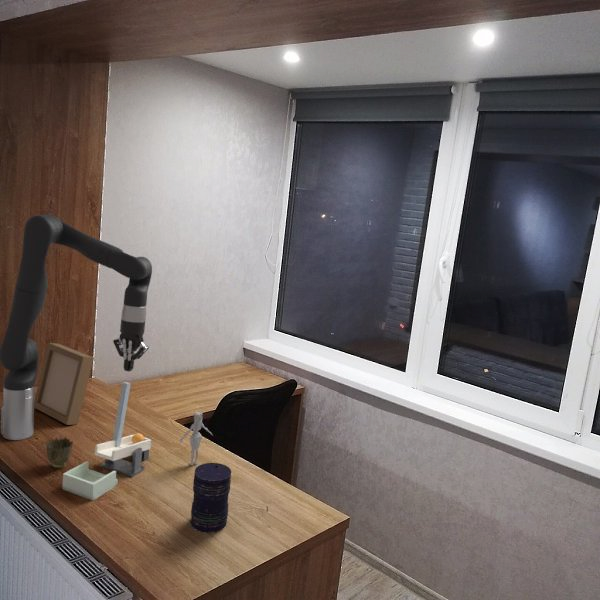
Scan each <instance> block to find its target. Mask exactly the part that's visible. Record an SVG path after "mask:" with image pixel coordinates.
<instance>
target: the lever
mask: <svg viewBox="0 0 600 600" xmlns="http://www.w3.org/2000/svg"><path fill="white" fill-rule="evenodd" d="M130 390H131V382H127V381H123V382H122V383H121V389H120V396H119V400H118V407H117V411H116V419H115V424H114V431H113V435H112V439H113V440H112V439H111V440H112V441H110V440H107V441H105V442H102V443H101V442H100V443H98V444H95V449H94V456H97V457H100V458H102V459H104V460H105V459H108V460H111V461H115V460H118V459H123V458H127V457H131V455H133V451H134V450H136V449H138V448H139V447H140V448H142V451H145V450H148V449H149V450H151V449H152V442H153V439H150V438H148V437H144V436H143V437H144V440H143V441H142V442H139V443H135V444H134V443H133V442H132V437H133V436H134V435H135V434H136V433H134V434H130V435H127V436H123V431H124V425H125V420H126V414H127V408H128V401H129V395H130Z"/></svg>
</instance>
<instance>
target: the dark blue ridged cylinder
mask: <svg viewBox="0 0 600 600" xmlns="http://www.w3.org/2000/svg"><path fill="white" fill-rule="evenodd" d="M231 479H232V470H231V468H230V467H229V466H227V465H225V464H222V463H218V462H206V463H202V464H198V466H196V467H195V469H194V475H193V487H192V492H193V498H192V499H193V500H192V504H191V510H190V517H191V518H190V525H192V526H191V527H192V528H193V530H195V529H196V530H195V531H197V532H199V531H200V533H202V532H206V533H205V534H213V533H212V532H215V533H218V532H217V531H219V532H221V531H223V530H224V529H225V528H226V527H227V525H226V524H228V516H229V515H228V514H229V494H230V490H231V486H232V485H231V484H232V483H231V481H232V480H231ZM225 526H226V527H225ZM224 527H225V528H224ZM223 528H224V529H223ZM222 529H223V530H222ZM220 530H221V531H220Z"/></svg>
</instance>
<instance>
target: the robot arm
mask: <svg viewBox="0 0 600 600" xmlns="http://www.w3.org/2000/svg"><path fill="white" fill-rule="evenodd" d="M24 225H25V226H24V230H23V242H22V251H21V252H22V253H21V259H20V262H19V267H18V274H17V278H16V283H15V285H14V292H13V297H12V303H11V309H10V312H9V317H8V318H9V319H8V323H7V326H6V330H5V334H4V336H3V339H2V342H1V346H0V363H1V366H2V367H3V368H5V369H7V370H8V372H7V374H6V376H5V377H4V378H3V398H2V399H3V402H2V403H3V406H2V407H1V408H0V435H2V437H3V438H4V439H6V440H10V441H20V440H25V439H28V438H30V437H32V436H33V435H34V425H35V422H34V420H35V408H34V400H35V385H36V384H35V382H36V379H37V376H38V370H39V369H38V368H39V349H38V348H39V347H38V345H37V343H36V342H35V340H33V339H32V338H31V337H30V333H31V331H32V328H33V327H34V324H35V323H36V321H37V319H38V318H39V316H40V314H41V312H42V311H43V308H44V305H45V302H46V298H47V297H46V296H47V293H48V288H49V287H48V276H47V275H48V274H47V271H46V260H47V255H48V251H49V248H50V245H51V244H57V245H61V246H64V247H67V248H70V249H73V250H74V251H75V252H78V253H80V254H81V255H83V256H84V257H85V258H86V259H88V260H90V261H92V262H94V263H97V264H99V265H101V266H103V267H107V268H109V269H111V270H114V272H117V273H119V274H120V275H122V276H124V277H126V278H127V279H128V284H127V286H126V287H125V290H124V297H123V305H122V309H121V318H120V327H119V328H120V329H119V332H120V334H119V337H118V338H116V339H114V340H113V339H112V342H113V344H114V347H115V349H116V350H117V353H118V355H119V357H122V358H123V360H124V361H123V370H124V371H126V372H132V371H133V369H134V366H135V365H134V364H135V360H140V359H141V358H142V357H143V356H144V355H145V353H146V352H147V351H148V350H149V349H150V347H149V345H145V343H144V333H145V329H146V317H147V302H148V301H147V300H148V290H149V287H150V283H151V279H152V276H153V275H152V273H153V265H152V263H151V261H150V260H149V259H148V258H147V257H145V256H137V257H136V256H133V255H131V254H129V253H126V252H125V251H123V250H122V249H121V248H119V247H117V246H114V244H113V245H112V244H110V243H108V242H105V241H104V240H103V241H102V239H101V240H100V239H98V238H95V237H93V236H90V235H88V234H87V233H84V232H82V231H80V230H78V229H76V227H75V228H74V227H73V226H72V225H70V224H69V223H66V222H65V221H63V220H62V219H60V218H58V217H57V216H55V215H52V214H38V215H33V216H31V217H30V218H28V219H27V221H26V223H25V224H24Z"/></svg>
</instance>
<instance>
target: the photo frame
mask: <svg viewBox="0 0 600 600" xmlns="http://www.w3.org/2000/svg"><path fill="white" fill-rule="evenodd" d="M93 361H94V357H93V356H91V355H88V354H87V353H84V352H81V351H78V350H75V349H73V348H71V347H69V346H66V345H63V344H60V343H55V342H54V343H53V342H48V344H47V349H46V351H45V356H44V360H43V364H42V368H41V372H40V376H39V379H38V380H39V381H38V385H37V387H36V388H37V389H36V391H35V392H36V393H35V395H34V409H37V410H38V411H40V412H42V413H44V414H45V415H48V417H51V418H53V419H55V420H57V421H59V422H60V423H62V424H64V425H67V426H68V425H69V426H71V425H78V424H79V420H80V416H81V411H82V408H83V403H84V399H85V394H86V393H87V392H86V391H87V388H88V383H89V379H90V375H91V370H92V366H93Z"/></svg>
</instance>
